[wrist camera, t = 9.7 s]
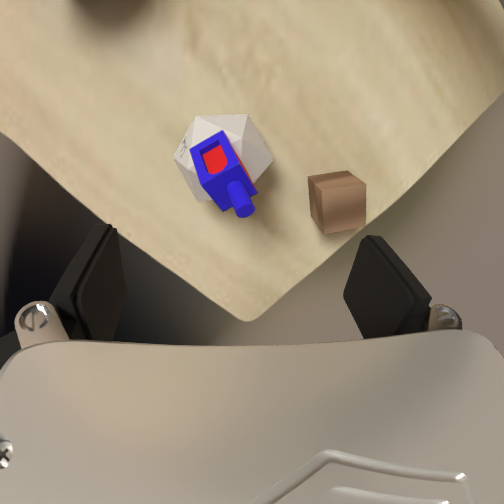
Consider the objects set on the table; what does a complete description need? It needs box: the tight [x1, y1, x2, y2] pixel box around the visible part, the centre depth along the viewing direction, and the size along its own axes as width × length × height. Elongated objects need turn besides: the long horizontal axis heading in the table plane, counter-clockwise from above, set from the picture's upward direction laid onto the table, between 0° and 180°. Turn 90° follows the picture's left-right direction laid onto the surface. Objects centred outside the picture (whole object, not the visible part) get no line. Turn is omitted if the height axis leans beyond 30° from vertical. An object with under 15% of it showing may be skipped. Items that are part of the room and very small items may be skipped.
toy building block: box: [189, 130, 258, 218], centre depth 22 cm, size 3×4×7 cm
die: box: [173, 114, 274, 202], centre depth 27 cm, size 8×9×10 cm
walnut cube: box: [307, 171, 366, 235], centre depth 32 cm, size 5×5×5 cm
